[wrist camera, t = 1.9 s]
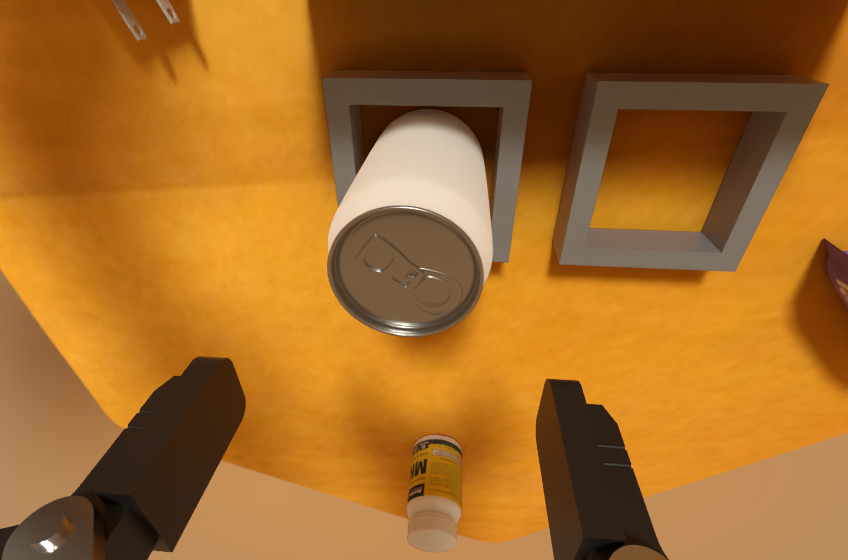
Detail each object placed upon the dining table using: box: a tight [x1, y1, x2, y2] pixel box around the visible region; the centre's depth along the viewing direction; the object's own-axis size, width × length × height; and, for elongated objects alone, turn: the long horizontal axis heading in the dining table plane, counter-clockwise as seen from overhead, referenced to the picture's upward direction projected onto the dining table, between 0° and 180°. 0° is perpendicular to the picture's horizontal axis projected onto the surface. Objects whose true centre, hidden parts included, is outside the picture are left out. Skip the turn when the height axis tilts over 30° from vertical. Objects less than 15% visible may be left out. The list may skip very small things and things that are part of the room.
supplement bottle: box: [407, 435, 462, 552], centre depth 37 cm, size 5×5×8 cm
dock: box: [322, 70, 829, 272], centre depth 19 cm, size 25×14×9 cm, turn 90°
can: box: [327, 109, 493, 337], centre depth 20 cm, size 6×6×12 cm
